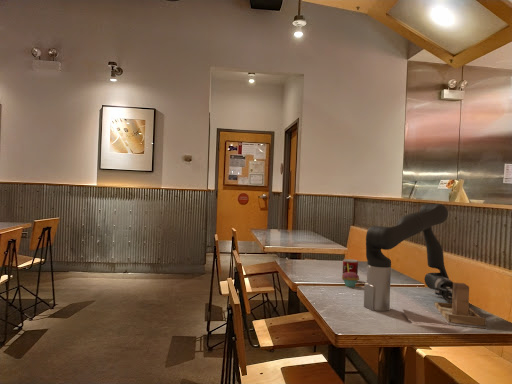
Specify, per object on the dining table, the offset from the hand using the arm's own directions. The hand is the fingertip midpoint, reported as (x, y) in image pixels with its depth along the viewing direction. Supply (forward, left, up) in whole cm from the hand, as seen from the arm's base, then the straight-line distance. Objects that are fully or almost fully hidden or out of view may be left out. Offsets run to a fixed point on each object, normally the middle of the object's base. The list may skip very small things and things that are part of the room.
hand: (457, 297), depth 149 cm
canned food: (-8, +66, -8) cm, 67 cm away
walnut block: (-1, -3, -6) cm, 7 cm away
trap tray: (-1, -1, -8) cm, 8 cm away
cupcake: (-15, +54, -8) cm, 57 cm away
